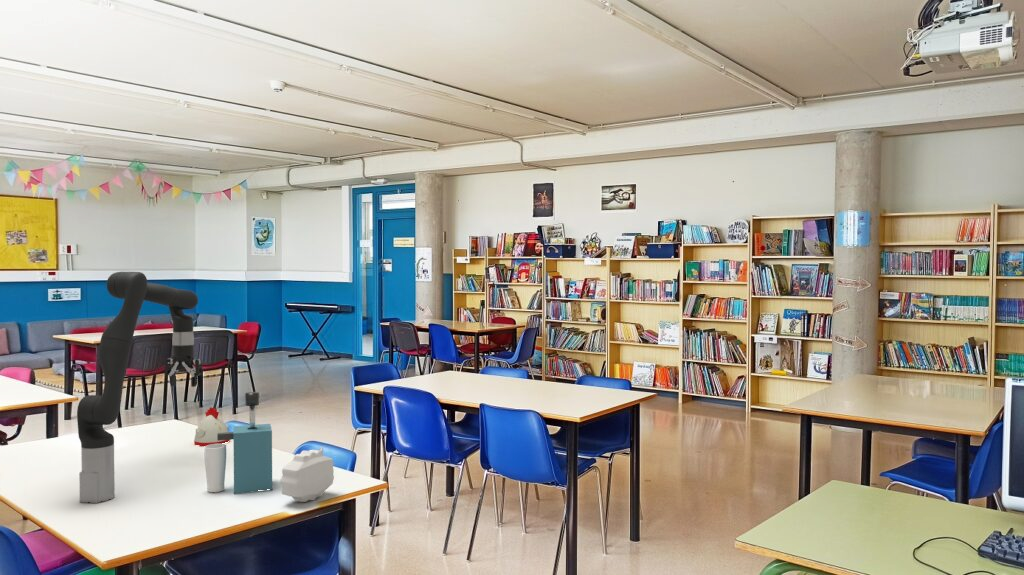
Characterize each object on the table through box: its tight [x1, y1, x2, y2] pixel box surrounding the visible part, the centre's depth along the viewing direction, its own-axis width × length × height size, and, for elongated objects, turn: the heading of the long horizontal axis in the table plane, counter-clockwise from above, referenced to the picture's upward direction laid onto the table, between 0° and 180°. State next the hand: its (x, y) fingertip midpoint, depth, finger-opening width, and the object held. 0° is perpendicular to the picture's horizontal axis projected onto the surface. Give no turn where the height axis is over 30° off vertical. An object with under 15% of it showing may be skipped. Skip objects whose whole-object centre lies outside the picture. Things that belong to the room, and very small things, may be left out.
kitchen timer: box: [193, 406, 230, 447], centre depth 318 cm, size 14×14×15 cm
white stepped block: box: [279, 445, 335, 503], centre depth 240 cm, size 11×18×16 cm, turn 152°
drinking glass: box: [204, 444, 227, 493], centre depth 249 cm, size 7×7×15 cm
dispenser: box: [217, 423, 273, 494], centre depth 252 cm, size 17×12×20 cm
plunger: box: [244, 391, 260, 429], centre depth 253 cm, size 4×4×15 cm
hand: (183, 386), depth 284 cm, fingers open, 8 cm apart
